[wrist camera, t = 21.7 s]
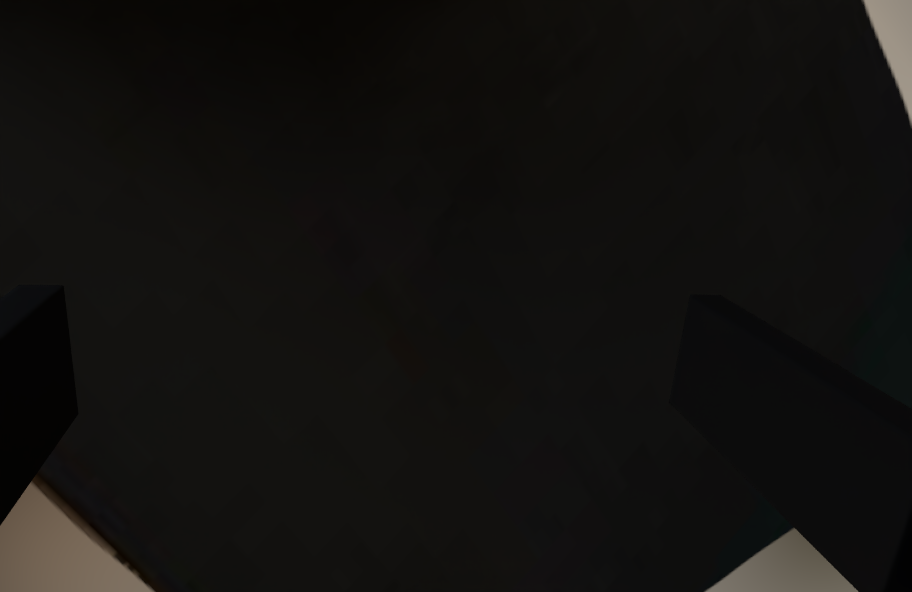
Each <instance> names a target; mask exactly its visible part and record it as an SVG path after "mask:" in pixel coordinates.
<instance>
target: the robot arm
mask: <svg viewBox="0 0 912 592" xmlns="http://www.w3.org/2000/svg"><path fill="white" fill-rule="evenodd" d="M669 403H670V404H671V405H672V406H673V407H674V408H675V409H676V410H677V411H678V412H679V413H680V414H681V415H682V416H683V417H684V418H685V419H686V420H687V421H688V422H689V423H690V424H691V425H692V426H693V427H694V428H695V429H696V430H697V431H698V432H699V433H700V434H701V435H702V436H703V437H704V438H705V439H706V440H707V441H708V442H709V443H710V444H711V445H712V446H713V447H714V448H715V449H716V450H717V451H718V452H719V453H720V454H721V455H722V456H723V457H724V458H725V459H726V460H727V461H728V462H729V463H730V464H731V465H732V466H733V467H734V468H735V469H736V470H737V471H738V472H739V473H740V474H741V475H742V476H743V477H744V478H745V479H746V480H747V481H748V482H749V483H750V484H751V485H752V486H753V487H754V488H755V489H756V490H757V491H758V492H759V493H760V494H761V495H762V496H763V497H764V498H765V499H766V500H767V501H768V502H769V503H770V504H771V505H772V506H773V507H774V508H775V509H776V510H777V511H778V512H779V513H780V514H781V515H782V516H783V517H784V518H785V519H786V520H787V521H788V522H789V523H790V524H791V525H792V526H793V527H794V528H795V529H797V530H798V532H799V533H800V534H801V535H803V537H804V538H805V539H806V540H807V541H809V543H810V544H811V545H813V547H814V548H815V549H816V550H817V551H819V552H820V553H821V555H823V557H824V558H826V559H827V561H828V562H829V563H831V564H832V565H833V566H834V568H835V569H837V570H838V572H839V573H840V574H841V575H842V576H844V577H845V578H846V579H847V580H848V581H849V582H850V583H851V584H852V585H853V586H854V587H855V588H856V589H857V590H858V591H859V592H912V409H911V408H909V407H907V406H906V405H904V404H902V403H901V402H899V401H897V400H895V399H894V398H892V397H890V396H889V395H887V394H885V393H884V392H882V391H880V390H879V389H877V388H875V387H874V386H872V385H870V384H869V383H867V382H865V381H864V380H862V379H860V378H859V377H857V376H855V375H854V374H852V373H850V372H849V371H847V370H845V369H844V368H842V367H840V366H838V365H837V364H835V363H833V362H832V361H830V360H828V359H827V358H825V357H823V356H822V355H820V354H818V353H817V352H815V351H813V350H812V349H810V348H808V347H807V346H805V345H803V344H802V343H800V342H798V341H797V340H795V339H793V338H792V337H790V336H788V335H787V334H785V333H783V332H781V331H780V330H778V329H776V328H775V327H773V326H771V325H770V324H768V323H766V322H765V321H763V320H761V319H760V318H758V317H756V316H755V315H753V314H751V313H750V312H748V311H746V310H745V309H743V308H741V307H740V306H738V305H736V304H735V303H733V302H731V301H730V300H728V299H726V298H724V297H723V296H721V295H690V298H689V303H688V308H687V313H686V318H685V324H684V329H683V334H682V339H681V344H680V349H679V354H678V359H677V364H676V369H675V375H674V380H673V385H672V390H671V395H670V400H669ZM77 415H78V407H77V398H76V390H75V381H74V372H73V364H72V355H71V346H70V338H69V329H68V320H67V312H66V303H65V294H64V286H57V285H18V286H17V287H16V288H14V289H13V290H12V291H10V292H9V293H8V294H6V295H5V296H3V297H2V298H1V299H0V525H1V524H2V522H3V521H4V519H5V518H6V517H7V515H8V514H9V512H10V511H11V509H12V508H13V507H14V505H15V504H16V502H17V501H18V499H19V498H20V497H21V495H22V494H23V492H24V491H25V489H26V488H27V486H28V485H29V484H30V482H31V481H32V479H33V478H34V477H35V475H36V474H37V472H38V471H39V469H40V468H41V466H42V465H43V464H44V462H45V461H46V459H47V458H48V456H49V455H50V454H51V452H52V451H53V449H54V448H55V446H56V445H57V444H58V442H59V441H60V439H61V438H62V436H63V435H64V434H65V432H66V431H67V429H68V428H69V426H70V425H71V424H72V422H73V421H74V419H75V418H76V416H77Z"/></svg>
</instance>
